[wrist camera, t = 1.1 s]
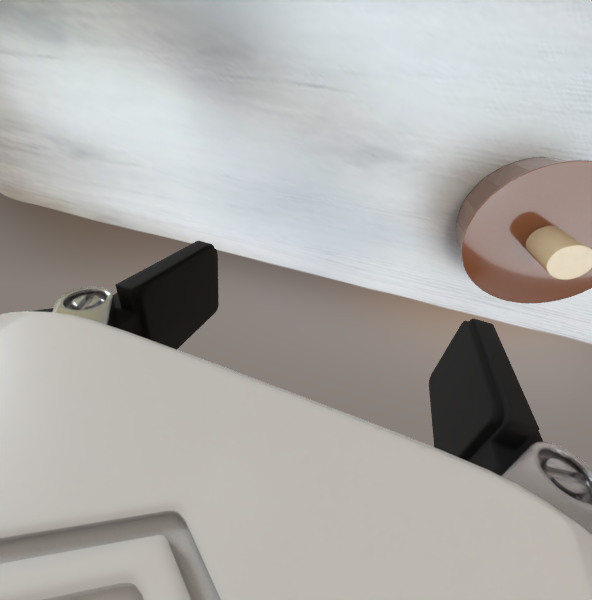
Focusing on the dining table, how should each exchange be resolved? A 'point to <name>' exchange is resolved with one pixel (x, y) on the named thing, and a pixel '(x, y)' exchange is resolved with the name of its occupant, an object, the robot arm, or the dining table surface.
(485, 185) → the pot
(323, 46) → the dining table surface
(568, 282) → the lid
